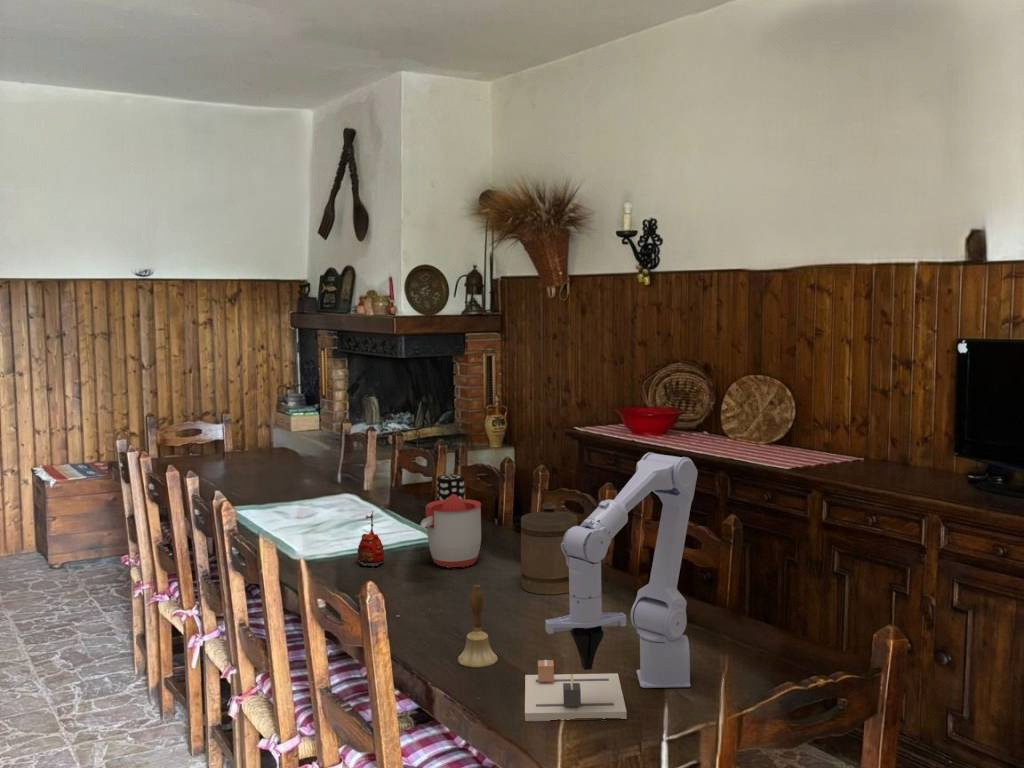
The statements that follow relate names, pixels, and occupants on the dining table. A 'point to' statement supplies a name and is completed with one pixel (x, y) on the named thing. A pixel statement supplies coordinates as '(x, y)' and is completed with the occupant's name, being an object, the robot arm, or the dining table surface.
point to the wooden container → (545, 551)
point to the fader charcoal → (571, 694)
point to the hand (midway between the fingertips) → (586, 667)
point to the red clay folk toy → (370, 547)
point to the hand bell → (477, 637)
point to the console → (596, 697)
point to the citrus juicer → (453, 531)
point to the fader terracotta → (545, 670)
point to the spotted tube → (450, 486)
